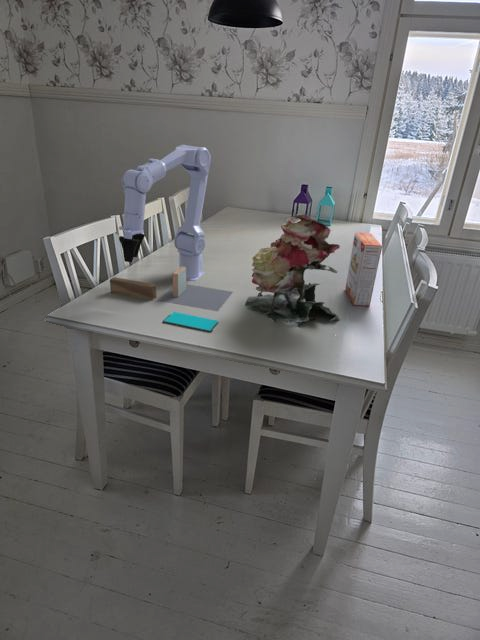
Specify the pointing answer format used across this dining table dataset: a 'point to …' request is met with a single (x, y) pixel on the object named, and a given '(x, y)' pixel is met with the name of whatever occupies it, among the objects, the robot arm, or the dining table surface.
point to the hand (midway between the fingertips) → (130, 259)
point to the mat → (198, 297)
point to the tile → (179, 281)
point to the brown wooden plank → (133, 288)
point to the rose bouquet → (291, 271)
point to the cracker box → (363, 268)
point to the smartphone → (191, 322)
